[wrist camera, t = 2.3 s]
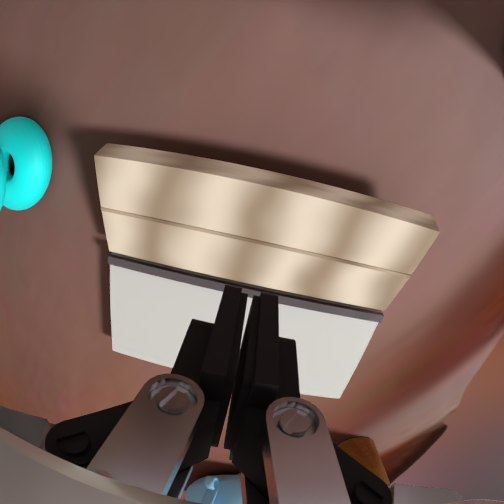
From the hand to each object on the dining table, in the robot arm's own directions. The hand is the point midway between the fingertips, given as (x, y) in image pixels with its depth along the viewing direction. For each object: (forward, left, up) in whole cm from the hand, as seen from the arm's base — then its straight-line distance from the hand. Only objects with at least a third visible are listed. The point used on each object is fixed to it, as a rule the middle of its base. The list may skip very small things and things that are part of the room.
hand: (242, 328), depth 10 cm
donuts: (+26, 0, -19) cm, 32 cm away
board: (0, +13, -19) cm, 23 cm away
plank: (0, +2, -16) cm, 16 cm away
